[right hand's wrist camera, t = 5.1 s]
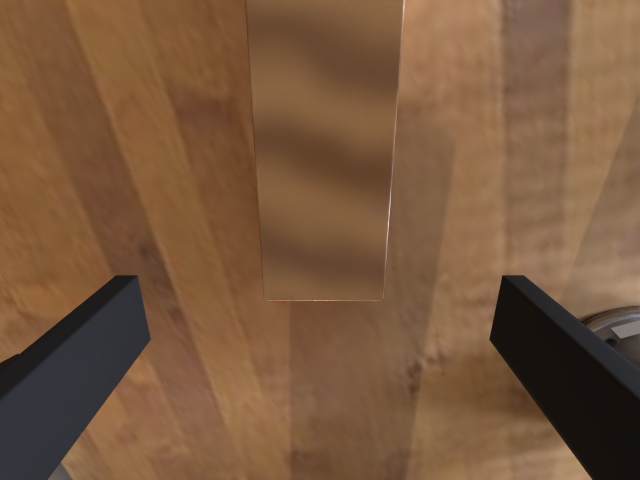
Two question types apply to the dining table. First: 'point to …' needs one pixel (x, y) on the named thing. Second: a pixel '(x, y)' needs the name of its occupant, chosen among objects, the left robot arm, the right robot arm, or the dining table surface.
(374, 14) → the long beam
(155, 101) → the dining table surface
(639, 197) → the dining table surface
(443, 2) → the dining table surface
